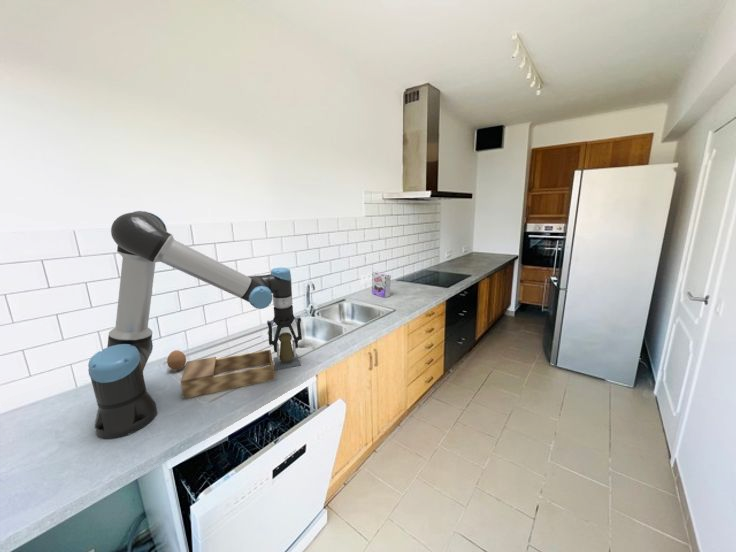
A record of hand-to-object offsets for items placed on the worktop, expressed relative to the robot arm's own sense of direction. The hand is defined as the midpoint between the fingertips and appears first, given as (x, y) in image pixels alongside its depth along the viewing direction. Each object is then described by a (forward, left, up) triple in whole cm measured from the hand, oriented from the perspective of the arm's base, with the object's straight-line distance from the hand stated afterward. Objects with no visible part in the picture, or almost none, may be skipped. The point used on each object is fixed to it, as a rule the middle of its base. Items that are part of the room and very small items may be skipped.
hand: (286, 356), depth 127 cm
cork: (0, 0, -1) cm, 1 cm away
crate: (-22, -5, -3) cm, 22 cm away
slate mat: (0, 0, -3) cm, 3 cm away
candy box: (+77, +70, -3) cm, 104 cm away
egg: (-42, +11, -3) cm, 44 cm away
